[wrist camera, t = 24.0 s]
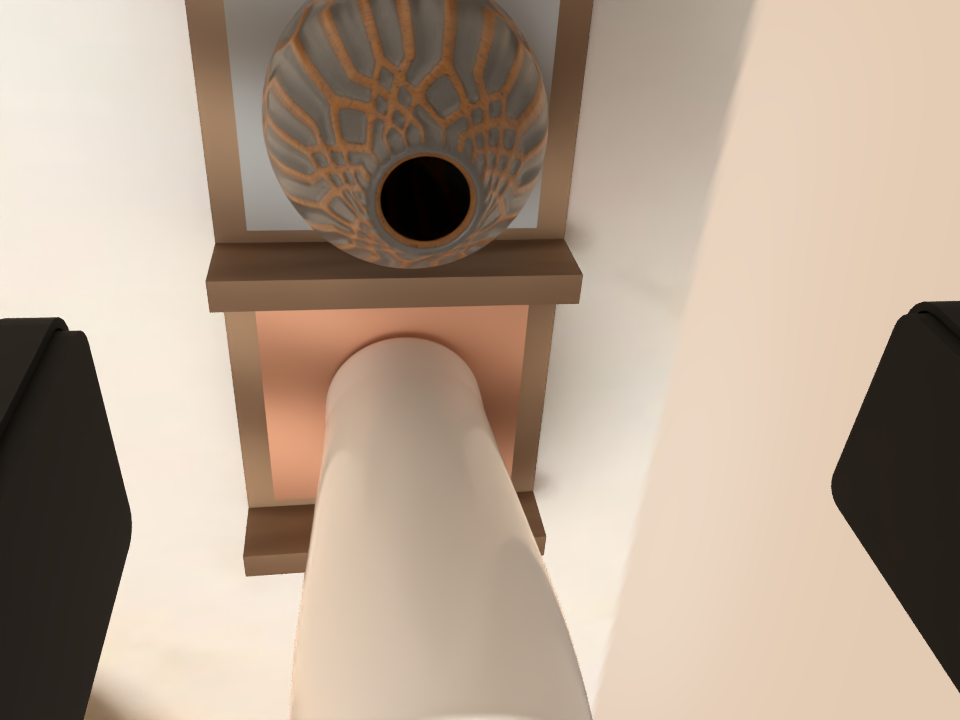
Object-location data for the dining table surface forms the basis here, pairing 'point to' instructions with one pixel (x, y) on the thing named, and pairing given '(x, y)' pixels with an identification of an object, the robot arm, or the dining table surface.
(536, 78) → the vase
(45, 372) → the robot arm
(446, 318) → the slot rack
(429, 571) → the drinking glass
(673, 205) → the dining table surface
